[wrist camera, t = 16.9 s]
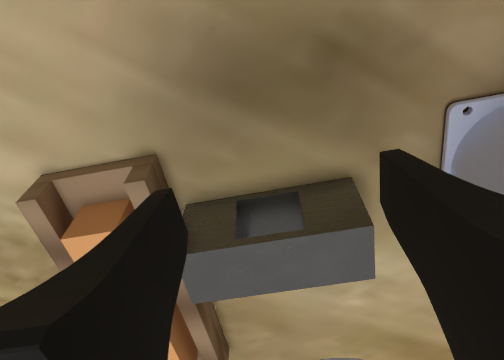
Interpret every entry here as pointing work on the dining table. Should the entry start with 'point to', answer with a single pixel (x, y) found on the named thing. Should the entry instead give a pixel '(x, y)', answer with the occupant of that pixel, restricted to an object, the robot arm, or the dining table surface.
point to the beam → (278, 241)
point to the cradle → (105, 190)
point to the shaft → (93, 232)
